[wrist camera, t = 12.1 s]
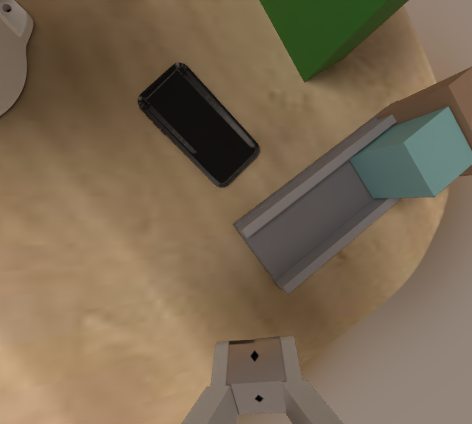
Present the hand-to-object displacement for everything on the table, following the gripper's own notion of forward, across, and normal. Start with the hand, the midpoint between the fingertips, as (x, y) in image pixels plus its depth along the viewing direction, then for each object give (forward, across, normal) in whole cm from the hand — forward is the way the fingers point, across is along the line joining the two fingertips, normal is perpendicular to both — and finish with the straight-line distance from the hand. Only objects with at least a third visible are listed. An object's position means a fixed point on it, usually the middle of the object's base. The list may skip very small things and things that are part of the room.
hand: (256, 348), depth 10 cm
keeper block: (+30, -18, +4) cm, 35 cm away
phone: (+28, +6, -5) cm, 29 cm away
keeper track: (+28, -12, +7) cm, 32 cm away
